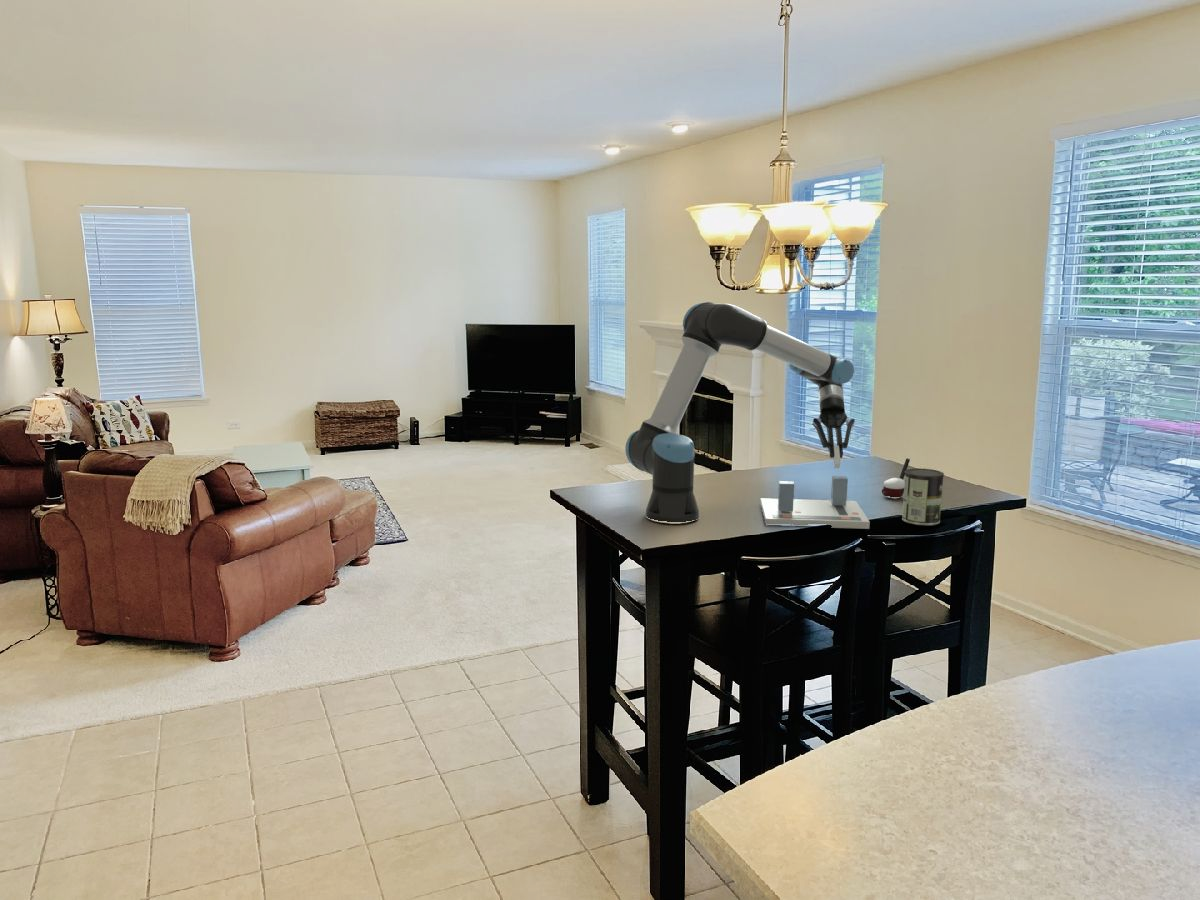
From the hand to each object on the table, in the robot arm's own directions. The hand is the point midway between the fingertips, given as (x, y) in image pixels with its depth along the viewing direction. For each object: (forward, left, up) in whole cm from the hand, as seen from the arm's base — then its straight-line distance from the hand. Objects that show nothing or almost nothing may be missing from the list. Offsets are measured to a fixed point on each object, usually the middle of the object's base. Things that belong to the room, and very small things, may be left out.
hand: (837, 465), depth 262 cm
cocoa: (+19, +8, -12) cm, 24 cm away
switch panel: (-9, -16, -12) cm, 21 cm away
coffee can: (+21, -17, -12) cm, 29 cm away
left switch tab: (-17, -19, -9) cm, 27 cm away
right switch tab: (-1, -11, -9) cm, 14 cm away
